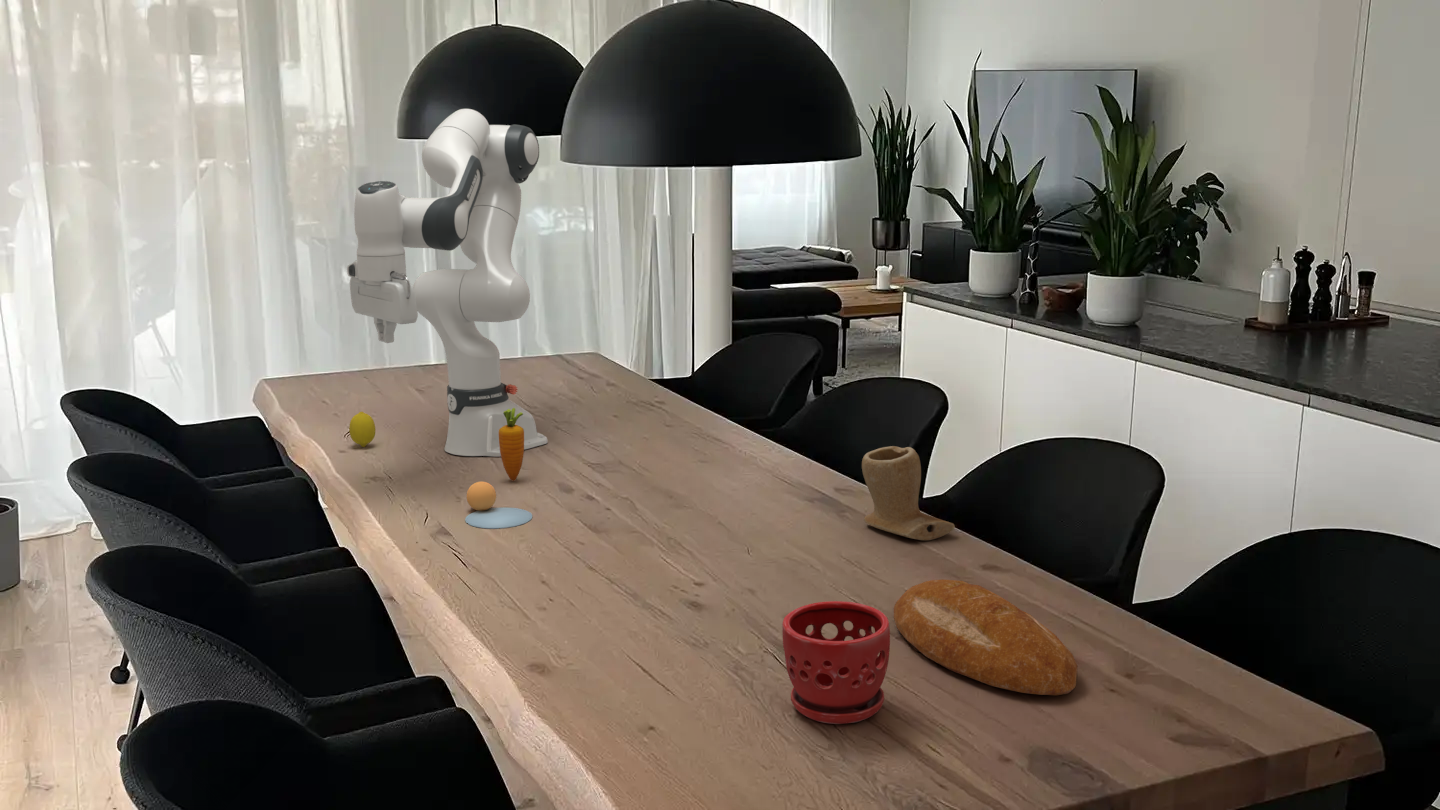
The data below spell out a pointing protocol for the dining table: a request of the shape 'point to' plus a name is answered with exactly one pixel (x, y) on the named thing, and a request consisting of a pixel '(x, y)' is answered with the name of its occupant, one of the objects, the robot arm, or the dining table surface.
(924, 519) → the tan boot-shaped piece
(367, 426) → the lemon
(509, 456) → the carrot
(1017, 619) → the bread
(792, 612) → the plant pot
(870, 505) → the dining table surface
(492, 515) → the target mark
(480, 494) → the ball
